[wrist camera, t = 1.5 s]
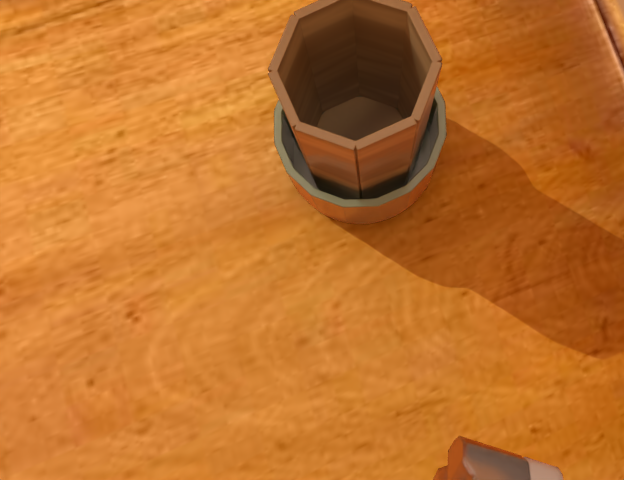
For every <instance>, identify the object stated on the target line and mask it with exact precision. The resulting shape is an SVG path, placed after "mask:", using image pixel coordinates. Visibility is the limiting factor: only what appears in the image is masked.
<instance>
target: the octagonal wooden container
mask: <svg viewBox="0 0 624 480" xmlns="http://www.w3.org/2000/svg"><path fill="white" fill-rule="evenodd" d="M294 15H295V16H294ZM294 15H291V16H290V18H289V21H288V23H287V25H286V28H285V30H284V33H283V35H282V37H281V40H280V42H279V44H278V47H277V49H276V51H275V54H274V56H273V59H272V61H271V63H270V66H269V68H268V71H269V73H268V75H269V77H270V80H271V82H272V84H273V87H274V89H275V91H276V94H277V96H278V98H279V101H280V103H281V105H282V108H283V110H284V112H285V115H286V117H287V119H288V122H289V124H290V126H291V129H292V131H293V133H294V136H295V138H296V140H297V143H298V145H299V147H300V150H301V152H302V154H303V157H304V159H305V161H306V163H307V166H308V168H309V170H310V172H311V175H312V177H313V179H314V181H315V184H316V186H317V188H318V189H320V191H323V192H326V193H328V194H331V195H334V196H337V197H339V198H342V199H374V198H378V197H381V196H383V195H385V194H387V193H390V192H392V191H394V190H397V189H399V188H401V187H403V186H405V185H406V184H407V183H408V180H409V178H410V175H411V173H412V170H413V167H414V165H415V162H416V160H417V157H418V154H419V152H420V149H421V147H422V143H423V139H424V135H425V131H426V127H427V123H428V119H429V115H430V111H431V107H432V103H433V99H434V95H435V91H436V87H437V83H438V79H439V75H440V71H441V67H442V63H441V61H442V58H441V56H440V54H439V52H438V50H437V48H436V46H435V44H434V42H433V40H432V38H431V36H430V34H429V32H428V30H427V28H426V26H425V24H424V22H423V20H422V19H421V17H420V15H419V13H418V11H417V9H416V7H415V6H414V7H412V4H411V3H408V2H405V1H402V0H318V1H316V2H314V3H312V4H310V5H308V6H305V7H303V8H301V9H299V10H297V11H295V12H294ZM359 95H360V96H363V97H357V96H359ZM396 108H398V110H399V111H398V110H397V109H396ZM324 111H325V112H324ZM322 112H324V113H323V114H322Z"/></svg>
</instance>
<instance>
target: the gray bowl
mask: <svg viewBox="0 0 624 480" xmlns="http://www.w3.org/2000/svg"><path fill="white" fill-rule="evenodd" d="M357 97H363V96H360V95H359V96H357ZM396 109H397V110H398V108H396ZM398 111H399V110H398ZM324 112H325V111H324ZM324 112H322V114H323V113H324ZM446 135H447V132H446V111H445V101H444V99H443V97H442V95H441V93H440V91H439V89H438V87H436V91H435V95H434V99H433V103H432V107H431V111H430V115H429V119H428V123H427V127H426V131H425V135H424V139H423V143H422V147H421V149H420V152H419V154H418V157H417V160H416V162H415V165H414V167H413V170H412V173H411V175H410V178H409V180H408V183H407V184H406V185H405V186H403V187H401V188H399V189H397V190H394V191H392V192H390V193H387V194H385V195H383V196H381V197H378V198H374V199H342V198H339V197H337V196H334V195H331V194H328V193H326V192H323V191H320V189H318V188H317V186H316V184H315V181H314V179H313V177H312V175H311V172H310V170H309V168H308V166H307V163H306V161H305V159H304V157H303V154H302V152H301V150H300V147H299V145H298V143H297V140H296V138H295V136H294V133H293V131H292V129H291V126H290V124H289V122H288V119H287V117H286V115H285V112H284V110H283V108H282V105H281V103H280V101H279V100H278V103H277V105H276V108H275V110H274V143H275V146H276V149H277V151H278V153H279V155H280V158H281V160H282V162H283V165H284V167H285V169H286V172H287V173H288V175H289V177H290V179H291V180H292V182H293V184H294V186H295V187H296V189H297V191H298V192H299V194H301V195H302V196H303V197H304V198H305V199H306V201H307V202H308V203H309V204H310V205H311V206H313V207H314V208H315V209H316V210H317V211H319V212H320V213H322V214H324V215H326V216H328V217H330V218H332V219H335V220H338V221H341V222H346V223H352V224H369V223H376V222H380V221H384V220H386V219H389V218H392V217H394V216H396V215H398V214H400V213H401V212H403V211H404V210H406V209H407V208H408V207H410V206H411V205H412V204H413V203H414V202H415V201H416V200H417V199H418V198H419V196H420V195H421V194H422V193H423V192H424V191H425V190H426V188H427V187H428V184H429V181H430V179H431V176H432V174H433V171H434V168H435V166H436V163H437V160H438V158H439V155H440V152H441V150H442V147H443V144H444V141H445V139H446Z"/></svg>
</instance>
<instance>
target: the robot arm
mask: <svg viewBox="0 0 624 480" xmlns="http://www.w3.org/2000/svg"><path fill="white" fill-rule="evenodd" d="M433 480H563V475H562V473H561V472H560V470H559V468H558V467H555V466H551V465H548V464H545V463H542V462H539V461H536V460H533V459H530V458H527V457H522V456H521V455H518V454H515V453H511V452H508V451H505V450H502V449H499V448H496V447H493V446H489V445H486V444H483V443H480V442H477V441H474V440H471V439H468V438H464V437H461V436H459V437H457V438H456V439H455V440H454V441H453V443H452V445H451V447H450V448H449V450H448V465H447V466H444V467H442V468H439V469H438V470H437V472H436V474H435V476H434V478H433Z"/></svg>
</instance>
